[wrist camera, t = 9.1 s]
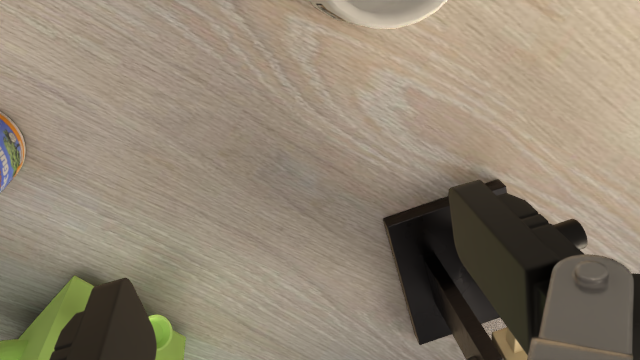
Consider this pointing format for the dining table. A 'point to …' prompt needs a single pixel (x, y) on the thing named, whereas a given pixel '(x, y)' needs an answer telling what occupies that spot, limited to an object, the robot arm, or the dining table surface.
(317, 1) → the mug
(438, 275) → the bracket
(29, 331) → the kettle
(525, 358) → the lever
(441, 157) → the dining table surface
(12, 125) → the pill bottle
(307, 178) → the dining table surface
